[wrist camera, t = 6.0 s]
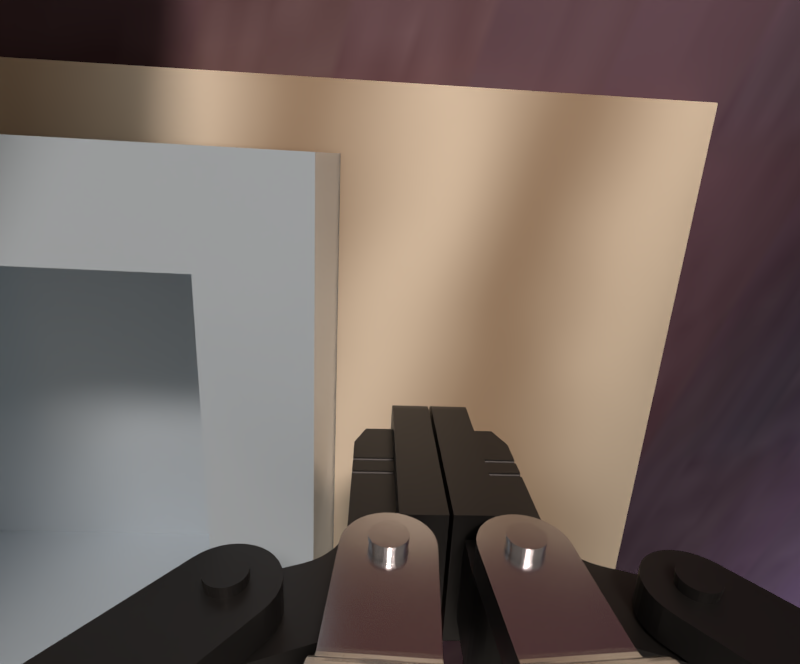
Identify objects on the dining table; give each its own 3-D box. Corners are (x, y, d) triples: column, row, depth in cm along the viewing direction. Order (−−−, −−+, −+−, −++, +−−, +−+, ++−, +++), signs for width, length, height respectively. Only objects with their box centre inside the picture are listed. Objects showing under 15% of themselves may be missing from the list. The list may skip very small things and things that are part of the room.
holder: (340, 153, 12) (315, 151, 7) (333, 562, 15) (312, 748, 10) (-191, 123, 11) (-613, 99, 6) (-74, 555, 15) (-291, 749, 10)
